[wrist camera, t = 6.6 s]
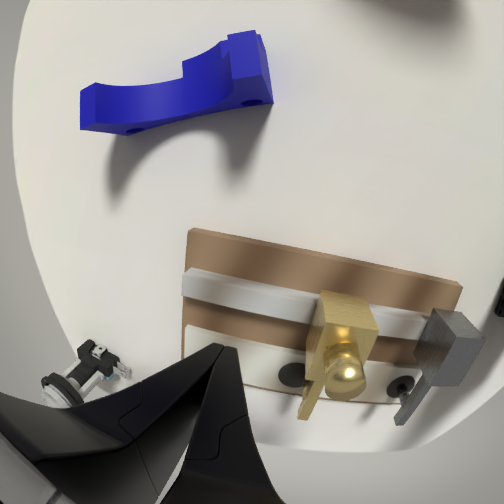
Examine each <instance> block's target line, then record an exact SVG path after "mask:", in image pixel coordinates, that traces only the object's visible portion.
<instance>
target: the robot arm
mask: <svg viewBox="0 0 504 504" xmlns="http://www.w3.org/2000/svg"><path fill="white" fill-rule="evenodd" d="M495 314H496V315H497V316H499V317H504V290H503V292H502V295H501V297H500V300H499V302H498V305H497V307H496V310H495ZM188 444H189V445H188ZM187 445H188V449H187V452H186V455H185V459H184V462H183V465H182V468H181V471H180V473H179V475H178V477H177V478H176V480H175V482H174V483H173V485H172V486H171V488H170V489H169V491H168V492H167V494H166V495H165V497H164V498H163V500H162V501H161V503H160V504H286V503H284V501H283V500H282V499H281V498H280V497H279V496H278V494H277V493H276V491H275V489H274V487H273V485H272V483H271V481H270V479H269V477H268V474H267V472H266V469H265V467H264V465H263V462H262V460H261V457H260V455H259V452H258V449H257V447H256V444H255V441H254V438H253V434H252V429H251V425H250V420H249V416H248V409H247V404H246V398H245V392H244V387H243V381H242V375H241V369H240V362H239V356H238V350H237V348H235V347H231V346H224V345H223V344H219V343H215V342H214V343H211V344H209V345H208V346H206V347H204V348H202V349H200V350H199V351H197V352H195V353H193V354H191V355H190V356H188V357H186V358H184V359H182V360H180V361H179V362H177V363H175V364H173V365H171V366H169V367H167V368H165V369H164V370H162V371H160V372H158V373H156V374H154V375H152V376H150V377H148V378H146V379H144V380H142V381H141V382H138V383H136V384H134V385H132V386H130V387H128V388H125V389H123V390H121V391H119V392H116V393H113V394H111V395H108V396H105V397H102V398H99V399H96V400H93V401H90V402H86V403H83V404H80V405H77V406H73V407H69V408H53V407H48V406H44V405H40V404H36V403H33V402H29V401H26V400H22V399H19V398H15V397H12V396H9V395H7V394H4V393H1V392H0V504H155V502H156V501H157V499H158V496H159V495H160V494H161V492H162V490H163V488H164V487H165V485H166V483H167V481H168V480H169V478H170V476H171V474H172V472H173V471H174V469H175V467H176V465H177V464H178V462H179V460H180V458H181V456H182V455H183V453H184V451H185V449H186V447H187Z"/></svg>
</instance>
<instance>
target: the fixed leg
mask: <svg viewBox="0 0 504 504" xmlns="http://www.w3.org/2000/svg"><path fill="white" fill-rule="evenodd" d="M484 341H485V338H484V337H483V336H482V334H481V333H480V332H479V331H478V330H477V329H476V328H475V327H474V325H473V324H472V323H471V322H470V321H469V320H468V319H467V318H466V317H465V316H464V315H463V314H462V313H461V312H457V311H451V310H445V309H438V308H433V310H432V312H431V314H430V317H429V319H428V321H427V324H426V326H425V328H424V330H423V332H422V335H421V337H420V339H419V341H418V343H417V345H416V347H415V349H414V351H413V355H414V357H415V359H416V361H417V363H418V365H419V367H420V369H421V371H422V373H423V374H422V376H421V377H420V379H419V381H418V382H417V384H416V385H415V387H414V389H413V390H412V392H411V393H410V394H409V391H408V389H407V386H406V384H400V385H398V386H397V388H396V391H397V394H398V397H399V400H400V403H401V406H402V407H401V408H400V409H399V411H398V412H397V414H396V415H395V416H394V420H395V424H396V426H398V425H404V424H405V423H406V421H407V420H408V419H409V417H410V416H411V415H412V413H413V412H414V411H415V409H416V408H417V407H418V405H419V404H420V402H421V401H422V400H423V398H424V397H425V395H426V394H427V392H428V391H429V389H430V388H431V386H459V384H460V383H461V381H462V379H463V378H464V376H465V375H466V373H467V371H468V370H469V368H470V367H471V365H472V363H473V361H474V360H475V358H476V356H477V354H478V353H479V351H480V349H481V347H482V345H483V343H484Z"/></svg>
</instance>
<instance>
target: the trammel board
mask: <svg viewBox="0 0 504 504" xmlns="http://www.w3.org/2000/svg"><path fill="white" fill-rule="evenodd" d="M462 289H463V287H462V286H461V285H460V284H459V283H458V282H456V281H451V280H447V279H442V278H438V277H433V276H429V275H424V274H420V273H415V272H411V271H406V270H402V269H397V268H392V267H388V266H383V265H378V264H374V263H369V262H364V261H359V260H355V259H350V258H345V257H340V256H335V255H331V254H326V253H321V252H316V251H311V250H306V249H301V248H296V247H291V246H286V245H281V244H276V243H271V242H266V241H261V240H256V239H251V238H246V237H241V236H235V235H230V234H225V233H220V232H214V231H209V230H204V229H198V228H193V229H191V230H189V231H188V236H187V247H186V260H185V273H184V274H183V277H182V295H183V313H182V354H181V360H182V359H184V358H186V357H188V356H190V355H191V354H193V353H195V352H197V351H199V350H200V349H202V348H204V347H206V346H208V345H209V344H211V343H214V342H215V343H219V344H223V345H224V346H231V347H235V348H237V350H238V356H239V362H240V369H241V375H242V381H243V385H246V386H251V387H255V388H260V389H265V390H270V391H275V392H280V393H286V394H292V395H298V396H303V380H304V378H305V367H306V339H307V336H308V333H309V329H310V326H311V323H312V320H313V316H314V313H315V309H316V306H317V302H318V299H319V295H320V292H321V290H326V291H331V292H336V293H342V294H347V295H352V296H358V297H363V298H365V299H366V301H367V303H368V305H369V308H370V310H371V312H372V314H373V316H374V319H375V321H376V323H377V326H378V328H379V330H380V331H379V333H378V336H377V338H376V340H375V343H374V345H373V347H372V349H371V352H370V354H369V356H368V358H367V360H366V362H365V364H364V367H363V369H364V373H365V377H366V382H367V385H366V388H365V390H364V391H363V393H361V394H360V395H359V396H358V397H356V398H354V399H351V400H347V401H345V402H357V403H373V404H401V403H400V400H399V397H398V394H397V391H396V388H397V386H398V385H400V384H406V386H407V389H408V391H409V394H410V392H411V391H412V389H413V388H414V386H415V385H416V383H417V381H418V380H419V378H420V376H421V375H422V371H421V369H420V367H419V365H418V363H417V361H416V359H415V357H414V355H413V351H414V349H415V347H416V345H417V343H418V341H419V339H420V337H421V335H422V332H423V330H424V328H425V326H426V324H427V321H428V319H429V317H430V314H431V312H432V310H433V308H438V309H445V310H451V311H454V309H455V307H456V304H457V302H458V299H459V297H460V294H461V292H462ZM319 399H327V400H333V399H331V398H329V397H328V396H327V395H326V393H325V385H324V387H323V389H322V391H321V394H320V396H319ZM335 401H336V400H335Z"/></svg>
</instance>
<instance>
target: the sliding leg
mask: <svg viewBox="0 0 504 504" xmlns="http://www.w3.org/2000/svg"><path fill="white" fill-rule="evenodd" d="M379 331H380V330H379V328H378V326H377V323H376V321H375V319H374V316H373V314H372V312H371V310H370V308H369V305H368V303H367V301H366V299H365V298H363V297H358V296H352V295H347V294H342V293H336V292H331V291H326V290H321V292H320V295H319V299H318V302H317V306H316V309H315V313H314V316H313V320H312V323H311V326H310V329H309V333H308V336H307V339H306V367H305V378H304V380H303V400H302V402H301V404H300V407H299V409H298V417H297V419H300V420H308V418H309V416H310V414H311V412H312V410H313V408H314V406H315V404H316V402H317V400H318V398H319V396H320V394H321V391H322V389H323V387H324V385H325V393H326V395H327V396H328V397H329V398H331V399H333V400H336V401H347V400H351V399H354V398H356V397H358V396H359V395H360V394H361V393H363V391H364V390H365V388H366V385H367V382H366V377H365V373H364V369H363V367H364V364H365V362H366V360H367V358H368V356H369V354H370V352H371V349H372V347H373V345H374V343H375V340H376V338H377V336H378V333H379Z"/></svg>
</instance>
